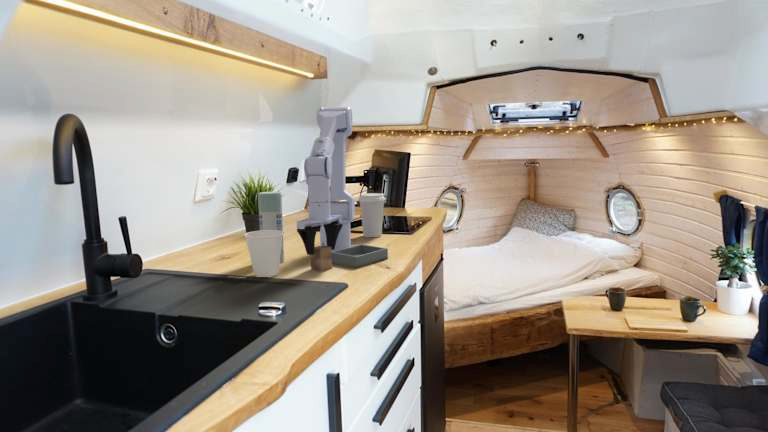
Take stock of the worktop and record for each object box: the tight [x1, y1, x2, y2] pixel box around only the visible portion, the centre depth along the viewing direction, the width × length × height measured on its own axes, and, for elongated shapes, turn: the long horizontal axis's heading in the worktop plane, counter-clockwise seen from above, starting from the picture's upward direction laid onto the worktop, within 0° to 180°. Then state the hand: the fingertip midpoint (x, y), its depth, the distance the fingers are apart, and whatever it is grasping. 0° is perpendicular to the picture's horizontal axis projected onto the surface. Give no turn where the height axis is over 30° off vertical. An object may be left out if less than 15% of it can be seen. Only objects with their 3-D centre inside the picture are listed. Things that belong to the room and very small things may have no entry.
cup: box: [244, 230, 285, 278], centre depth 132 cm, size 10×10×11 cm
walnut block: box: [310, 245, 333, 272], centre depth 138 cm, size 4×4×6 cm
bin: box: [332, 244, 389, 269], centre depth 146 cm, size 10×13×3 cm
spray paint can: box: [257, 191, 285, 265], centre depth 145 cm, size 6×6×20 cm
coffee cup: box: [358, 192, 386, 238], centre depth 182 cm, size 10×10×15 cm
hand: (320, 251), depth 137 cm, fingers open, 7 cm apart
